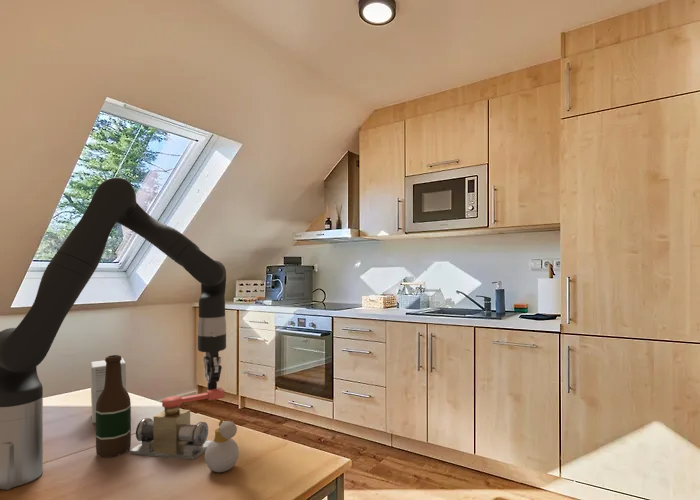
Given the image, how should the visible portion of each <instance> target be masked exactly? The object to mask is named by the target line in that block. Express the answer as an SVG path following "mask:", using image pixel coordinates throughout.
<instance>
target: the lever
mask: <svg viewBox="0 0 700 500" xmlns="http://www.w3.org/2000/svg"><path fill="white" fill-rule="evenodd" d="M224 398H225V389H224V388H222V387H219V388H218V387H217V389H211V390H208V389H207V390H206V392H203V393H198V394H191V395H185V396H178V395H175V396H174V395H173V396H168V397H164V398H163V399H161V401H162V402H161V405H162V408H164V407H166V408H170V407H176V406H179V405H180V406H181V405H182V404H183V403H185V404H186V403H190V402H195V401H199V400H206V399H207V400H209V401H214V400H219V399H224Z"/></svg>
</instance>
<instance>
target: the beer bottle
mask: <svg viewBox="0 0 700 500" xmlns="http://www.w3.org/2000/svg"><path fill="white" fill-rule="evenodd" d="M122 358H123V357H122V356H121V355H119V354H113V355H108V356H107V357H105V359H104V360H105V362H106V374H105V385H104V390H103V391H102V393H101V394H100V396H99V398H98V400H97V403H96V423H95V454H96V455H97V456H98V457H100V458H102V459H103V458H114V457H118V456H119V455H122V454H125V453H127V452H128V451H129V450H130V449H131V445H132V444H131V441H132V433H131V432H132V431H131V430H132V429H131V428H132V423H131V422H132V419H131V418H132V414H131V413H132V410H131V409H132V408H131V407H132V405H131V403H132V402H131V397H130V395H129V391H127V389H126V390H125V388H124V387H123V384H122V376H121V362H120V361H121V360H122Z"/></svg>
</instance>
